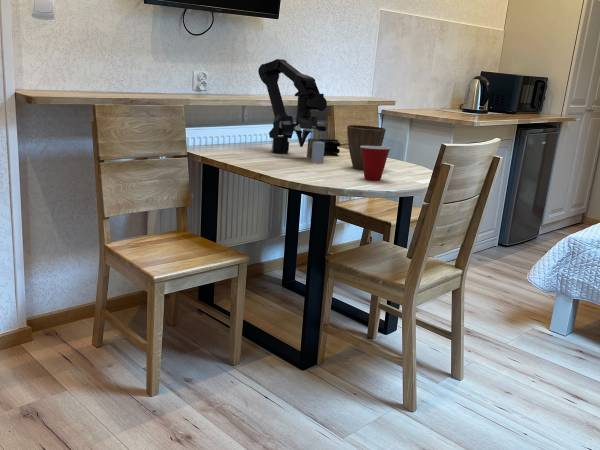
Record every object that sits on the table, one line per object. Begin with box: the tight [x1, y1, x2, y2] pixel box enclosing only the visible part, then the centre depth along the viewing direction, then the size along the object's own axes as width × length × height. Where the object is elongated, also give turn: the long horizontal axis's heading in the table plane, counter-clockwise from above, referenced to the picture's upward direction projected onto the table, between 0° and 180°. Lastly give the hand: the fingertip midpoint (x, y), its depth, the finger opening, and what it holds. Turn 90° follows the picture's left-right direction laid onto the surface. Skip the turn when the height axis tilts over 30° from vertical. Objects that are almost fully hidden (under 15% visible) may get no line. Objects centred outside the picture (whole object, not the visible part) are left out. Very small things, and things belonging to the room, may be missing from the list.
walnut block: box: [306, 137, 320, 160], centre depth 246 cm, size 4×4×8 cm
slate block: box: [310, 141, 325, 164], centre depth 237 cm, size 4×4×8 cm
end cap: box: [318, 138, 341, 157], centre depth 259 cm, size 10×7×7 cm
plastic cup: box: [360, 145, 392, 182], centre depth 209 cm, size 11×11×12 cm
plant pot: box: [346, 124, 387, 171], centre depth 230 cm, size 15×15×16 cm
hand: (301, 146), depth 245 cm, fingers closed
